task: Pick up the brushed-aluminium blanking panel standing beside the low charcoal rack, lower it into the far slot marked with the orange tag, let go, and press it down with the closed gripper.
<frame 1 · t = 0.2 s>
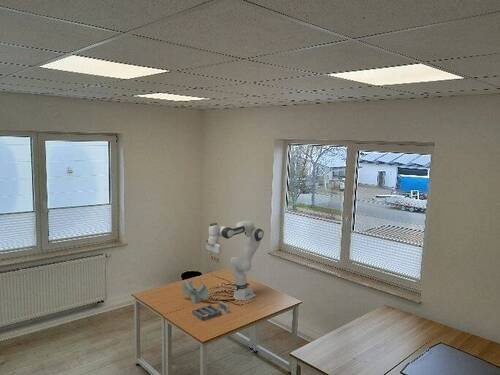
hand: (213, 256, 349), 47 cm above the table, tool pointing down, fingers open, 8 cm apart
bracket: (195, 302, 363), on the table
rack: (206, 314, 337), on the table
panel: (223, 310, 345), on the table
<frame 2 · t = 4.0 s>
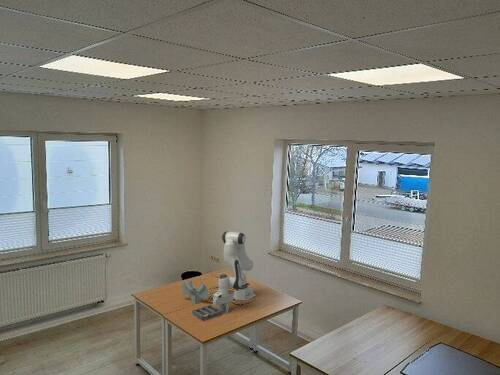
hand: (223, 308, 344), 3 cm above the table, tool pointing down, fingers closed on panel, 2 cm apart
panel: (223, 310, 345), on the table, touching gripper
everything else where it was.
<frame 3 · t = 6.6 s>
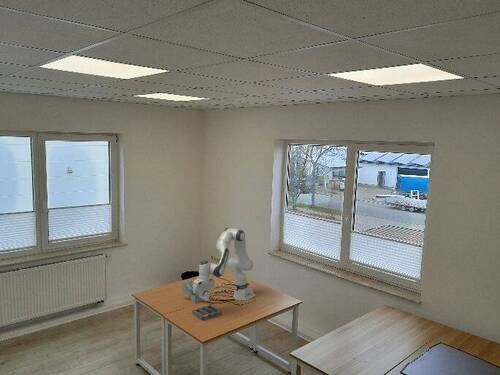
hand: (203, 295, 333), 18 cm above the table, tool pointing down, fingers closed on panel, 2 cm apart
panel: (204, 298, 333), point 16 cm above the table, touching gripper
everything else where it was.
when the fingers open (5 cm above the table, at t = 9.5 s): panel stays where it is, resting on rack.
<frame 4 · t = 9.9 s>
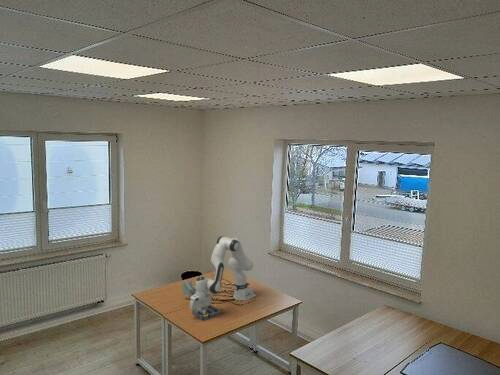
hand: (201, 311, 333), 5 cm above the table, tool pointing down, fingers open, 6 cm apart
panel: (201, 315, 334), point 1 cm above the table, touching rack
everything else where it was.
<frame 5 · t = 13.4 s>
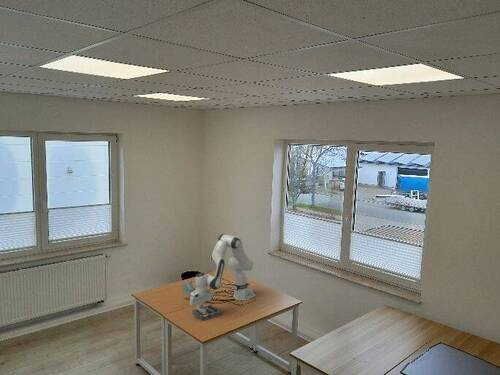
hand: (200, 307, 333), 8 cm above the table, tool pointing down, fingers closed, pressing on panel
panel: (201, 315, 334), point 1 cm above the table, touching gripper, rack
everything else where it was.
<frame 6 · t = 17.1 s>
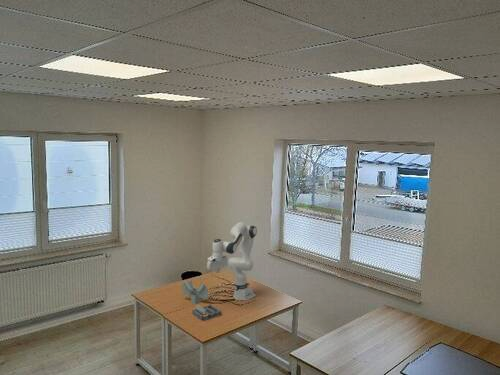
hand: (217, 272, 344), 34 cm above the table, tool pointing down, fingers closed
panel: (201, 315, 334), point 1 cm above the table, touching rack
everything else where it was.
at the end: panel 0.1 cm from the target spot on the rack, point 1.0 cm above the rack's base; panel tilted 0°; the gripper is holding nothing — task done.
